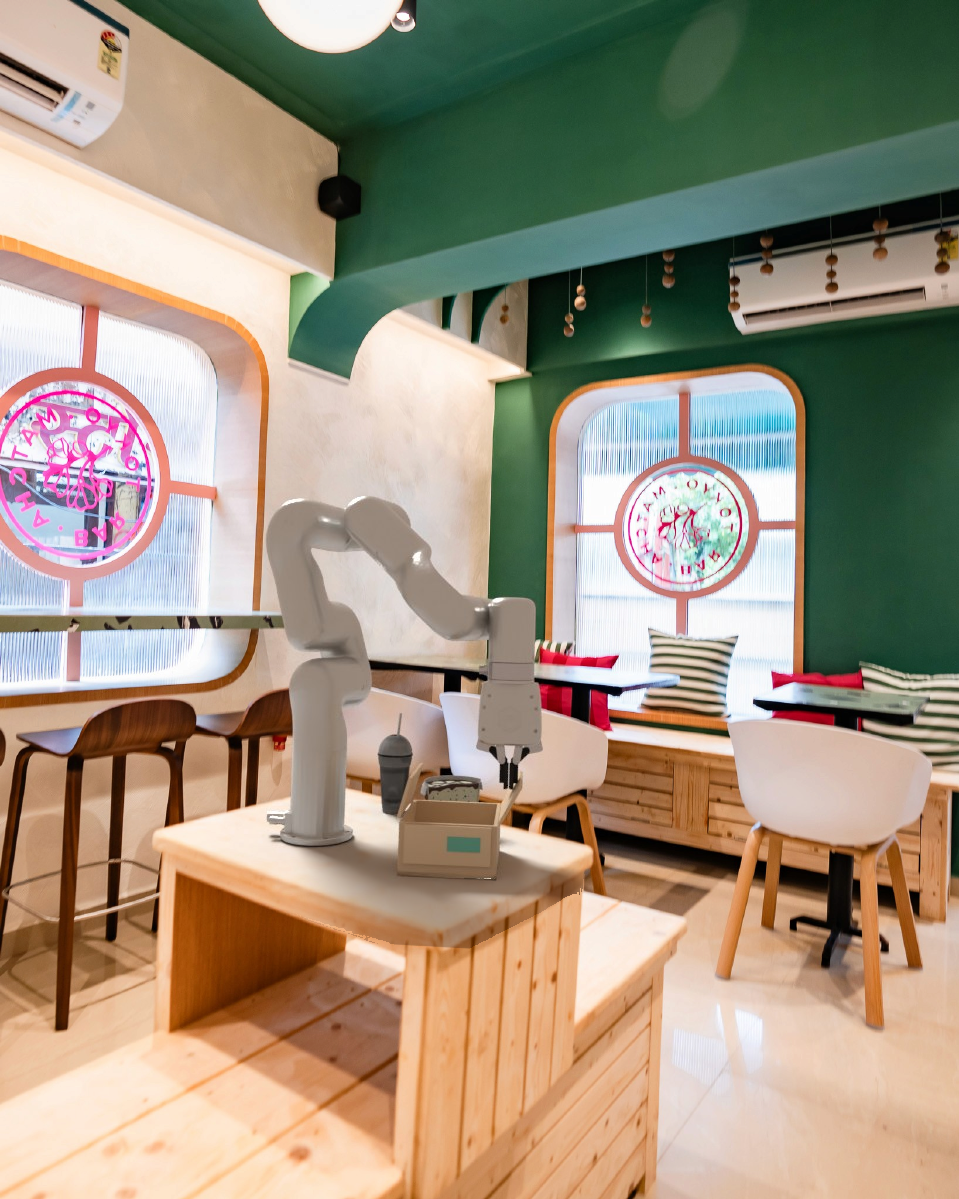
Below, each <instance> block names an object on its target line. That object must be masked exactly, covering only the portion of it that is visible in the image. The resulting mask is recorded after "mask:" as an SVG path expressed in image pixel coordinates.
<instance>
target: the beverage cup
mask: <svg viewBox="0 0 959 1199" xmlns="http://www.w3.org/2000/svg"><path fill="white" fill-rule="evenodd" d="M402 717H403V713H401V712H399V716H398V722H397V725H398V726H397V733H396V734H389V735H388V736H386V737H384V738H383V739H382V741H381V742H380V745H379V747H378V751H377V757H378V760H377V761H378V765H379V773H380V774H379V776H380V777H379V778H380V796H381V797H380V798H381V800H380V801H381V802H380V803H381V810H382V811H383V812H382V813H384V812H385V813H384V814H388V813H389V814H390V815H397V814H398V811H399V808H400V804H401V801H402V798H403V795H404V791H405V788H406V785H407V781H408V778H409V776H410V769H411V765H412V760H413V755H414V754H413V753H414V752H413V748H412V744H411V742H410V741H409V739H408V738H407V737H405V736H404V735H402V734H400V733H401V728H402V727H401V725H402ZM389 814H388V815H389Z"/></svg>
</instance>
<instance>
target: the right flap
mask: <svg viewBox="0 0 959 1199" xmlns="http://www.w3.org/2000/svg"><path fill="white" fill-rule="evenodd" d="M523 777H524V771H522V770H519V771H518V783H517V784H516V783H514V786H513V790H510V789H509V788H508V791H507V793H506V794H505V796H504V798H503V799H502V802H501V809H500V816H499V823H500V825H502V824H503V823H504V820H505V819H506V817H507V815H508V814H509V812H510V810H511V809H512V807H513V805H514V803H515V802H516V800H517V799H518V797H519V794H520V793H521V791H522V790H523V784H524V783H523Z"/></svg>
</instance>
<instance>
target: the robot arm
mask: <svg viewBox="0 0 959 1199" xmlns="http://www.w3.org/2000/svg"><path fill="white" fill-rule="evenodd" d="M265 548H266V554H267V558H268V561H269V566H270V569H271V572H272V575H273V579H274V582H275V584H274V585H275V587H276V594H277V599H278V603H279V607H280V611H281V612H280V613H281V617H282V623H283V627H284V632H285V635H286V638H287V641H288V643H289V645H290V646H291V647H292V648H294V649H295V650H298V651H301V652H306V653H307V652H308V653H320V657H317V658H311V659H308V660H306V661H304V662H302V663H301V664H300V665H299V666H298V665H297V667H296V668H295V670H294V671H293V672H292V674H291V676H290V680H289V685H288V689H289V690H288V693H289V694H288V695H289V702H290V708H291V716H292V718H291V719H292V746H291V747H292V753H291V757H292V758H291V774H290V775H291V776H290V779H291V780H290V781H291V782H290V801H289V802H290V805H289V807H290V808H289V810H285V812H281V811H280V812H279V811H275V810H274V811H272V810H269V811H267V814H266V823H268V824H269V825H281V826H282V827H283V828H281V830H280V832H279V838H280V839H281V840H282V841H283V842H285V843H288V844H291V845H298V846H304V847H305V846H308V847H309V846H310V847H314V846H316V847H317V846H319V847H320V846H330V845H331V846H332V845H336V844H342V843H345V842H346V841H349V840H351V839H352V838H353V836H354V834H353V833H354V829H353V828H352V827H351V826H349V825H347V824H345V818H346V817H345V816H346V814H345V812H346V811H345V810H346V785H347V760H348V759H347V758H348V732H347V724H346V721H345V720H346V719H345V716H344V713H343V709H351V708H354V707H356V706H357V707H358V706H359V705H361V704H362V703H363V702H365V701H366V700H367V698H368V697H369V696H370V693H371V691H372V684H373V677H372V676H373V675H372V669H371V665H370V661H369V656H368V652H367V647H366V643H365V639H364V635H363V629H362V626H361V623H360V620H359V618H358V616H357V614H356V612H354V611H353V609H352V608H350V607H349V606H348V605H347V604H345V603H342V602H339V601H334V600H330V599H329V597H328V594H327V590H326V587H325V581H324V577H323V573H322V570H321V569H320V566H319V565H318V562H317V561H316V558H315V557H314V555H313V553H312V549H315V550H322V551H327V552H335V553H348V552H365V553H367V555H368V556H369V557H370V558H372V560H374V562H376V564H378V566H380V567H381V569H382V570H384V571H385V572H386V574H387V575H388V576H390V578H392V579H393V581H394V582H395V585H396V587H397V589H398V591H399V593H400V594H401V597H402V599H403V600H404V602H405V603H406V605H408V607H409V608H410V609H411V610H412V611H413V612H414V613H415V614H416V615H417V617H419V618H420V619H421V620H422V622H424V623H425V624H426V625H427V627H428V628H430V629H431V631H433V633H435V634H437V635H438V636H439V637H440V638H443V639H445V640H447V641H450V642H479V641H486V640H487V641H488V656H487V657H488V662H487V663H486V664H484V665H479V666H478V674H479V675H484V676H486V677H487V680H486V681H483V682H482V685H481V686H482V687H481V691H480V696H479V707H478V721H477V743H476V745H475V746H476V747H475V748H476V750H477V751H478V750H479V751H482V752H486V753H490V754H491V755H492V757H493V758H494V759H495V760H496V761H497V763H498V764H499V773H498V774H499V776H498V777H499V780H498V781H499V784H503V790H507V789H508V790H509V789H510V790H513V786H514V783H516V784H517V783H518V774H519V764H520V763H521V762H522V761H523V760H524V759H525V758H527V756H528V755H530V754H531V755H532V754H536V753H541V752H542V751H543V748H544V747H543V742H542V734H543V733H542V732H543V731H542V726H543V724H542V723H543V721H542V717H543V716H542V698H541V690H540V684H539V682H535V658H536V656H535V655H536V653H535V652H536V619H537V618H536V612H537V611H536V609H537V608H536V604H535V602H534V601H533V600H532V599H530V598H526V597H516V596H515V597H513V596H512V597H511V596H510V597H509V596H507V597H506V596H503V597H495V598H486V597H481V596H474V595H469V594H468V595H466V594H461V592H459V591H458V590H457V589H456V588H455V587H454V586H452V585H451V583H449V581H447V580H446V579H445V578H444V576H443V575H441V574H440V572H439V571H438V570H437V569H436V568H435V566H434V565H433V564H432V561H431V558H432V553H433V552H432V551H433V550H432V548H431V546H430V544H429V543H428V542H427V541H426V540H424V538H422V536H420V535H419V533H418V532H416V531H415V530H414V529H413V528H412V523H411V519H410V517H409V515H408V513H407V512H406V511H405V510H404V508H403V507H401V506H400V505H398V504H396V503H394V502H392V501H389V500H386V499H383V498H380V497H376V496H372V495H363V496H360V497H357V498H355V499H353V500H352V501H351V502H349V503H348V505H347V506H346V507H339V506H336V505H332V504H329V503H325V502H321V501H318V500H314V499H308V498H295V499H292V500H288V501H286V502H284V503H283V504H281V505H280V506H279V507H278V508H277V509H276V511H275V512H274V513H273V515H272V516H271V518H270V520H269V523H268V524H267V528H266V533H265ZM505 746H507V747H509V746H510V747H513V746H514V750H513V754H512V757H511V758H510V762H509V761H508V758H507V755H506V748H505Z"/></svg>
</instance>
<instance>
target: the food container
mask: <svg viewBox="0 0 959 1199" xmlns="http://www.w3.org/2000/svg"><path fill="white" fill-rule="evenodd" d="M483 789H484V788H483V783H482V779H481V777H480V778H479V777H475V776H467V775H455V774H454V775H450V774H449V775H434V776H429V777H425V779H424V780H423V783H422V784H421V788H420V794H421V795H422V796H424V799H423V800H435V801H458V802H479V800H480V792H481V790H483Z"/></svg>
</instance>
